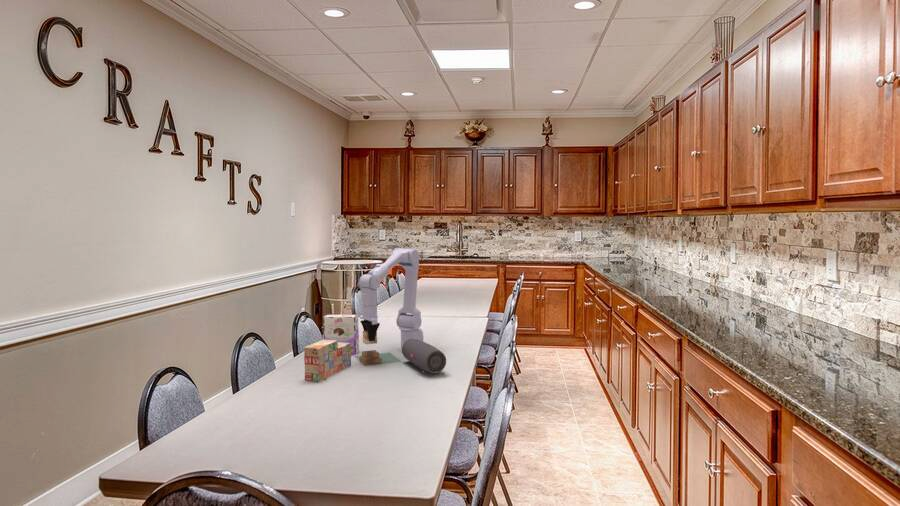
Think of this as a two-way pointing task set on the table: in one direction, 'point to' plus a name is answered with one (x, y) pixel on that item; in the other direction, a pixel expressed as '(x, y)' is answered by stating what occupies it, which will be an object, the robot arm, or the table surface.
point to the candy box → (342, 330)
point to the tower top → (370, 354)
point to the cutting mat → (385, 358)
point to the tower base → (370, 361)
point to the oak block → (366, 339)
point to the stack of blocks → (325, 359)
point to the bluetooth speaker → (424, 356)
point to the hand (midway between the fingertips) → (370, 339)
